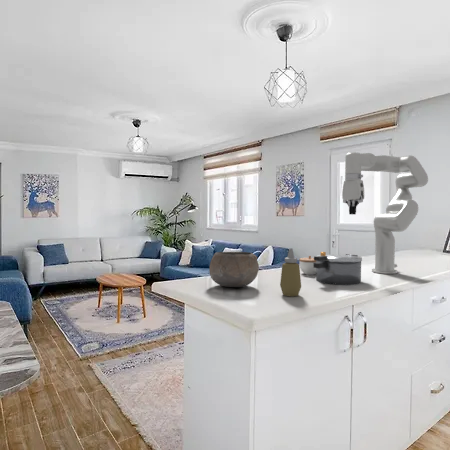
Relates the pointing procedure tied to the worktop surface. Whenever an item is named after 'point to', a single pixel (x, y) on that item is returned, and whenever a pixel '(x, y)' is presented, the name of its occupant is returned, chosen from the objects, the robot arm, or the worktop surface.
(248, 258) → the clay pot
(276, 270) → the worktop surface
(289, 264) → the squeeze bottle
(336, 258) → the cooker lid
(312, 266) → the lidded jar
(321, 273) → the cooker pot
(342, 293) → the worktop surface
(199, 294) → the worktop surface
